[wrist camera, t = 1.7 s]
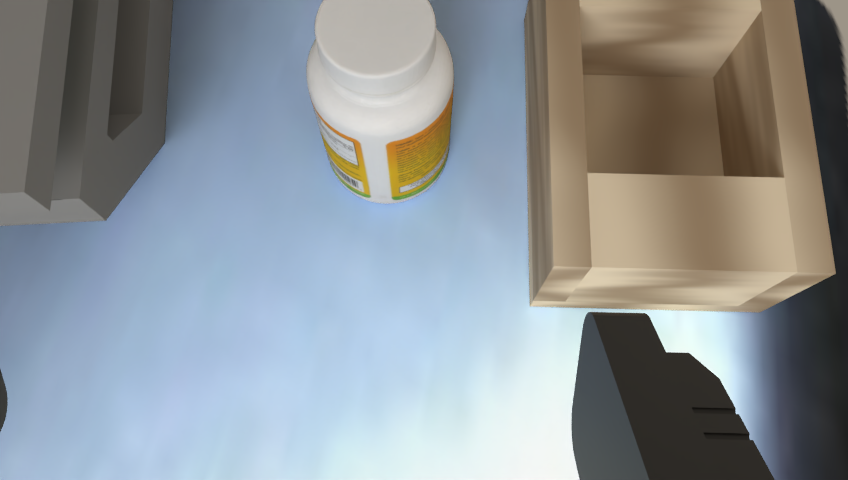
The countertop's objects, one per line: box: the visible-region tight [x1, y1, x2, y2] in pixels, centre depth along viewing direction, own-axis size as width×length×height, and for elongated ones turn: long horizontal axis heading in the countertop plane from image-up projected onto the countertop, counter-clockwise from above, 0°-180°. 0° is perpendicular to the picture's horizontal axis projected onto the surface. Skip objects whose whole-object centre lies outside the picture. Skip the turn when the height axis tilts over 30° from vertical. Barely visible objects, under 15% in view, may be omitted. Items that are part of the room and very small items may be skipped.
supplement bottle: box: [306, 0, 454, 204], centre depth 29 cm, size 5×5×10 cm
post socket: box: [524, 0, 836, 312], centre depth 30 cm, size 10×14×6 cm
